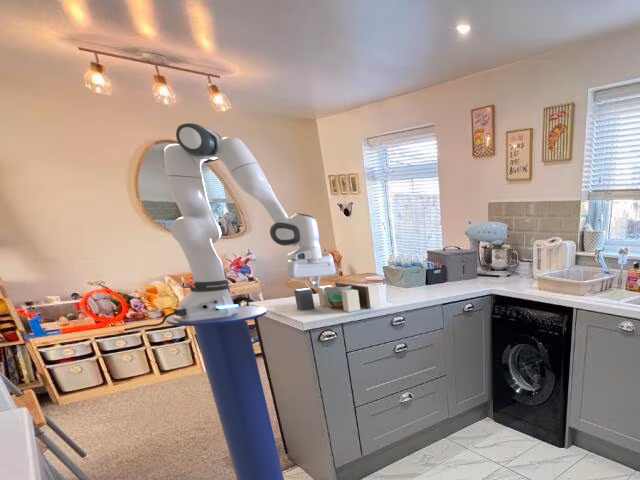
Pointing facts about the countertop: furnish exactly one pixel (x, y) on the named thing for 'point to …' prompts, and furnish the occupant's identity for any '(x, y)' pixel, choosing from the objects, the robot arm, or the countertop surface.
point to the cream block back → (323, 296)
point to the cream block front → (350, 300)
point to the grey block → (304, 299)
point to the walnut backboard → (359, 293)
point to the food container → (336, 296)
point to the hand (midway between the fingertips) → (314, 286)
